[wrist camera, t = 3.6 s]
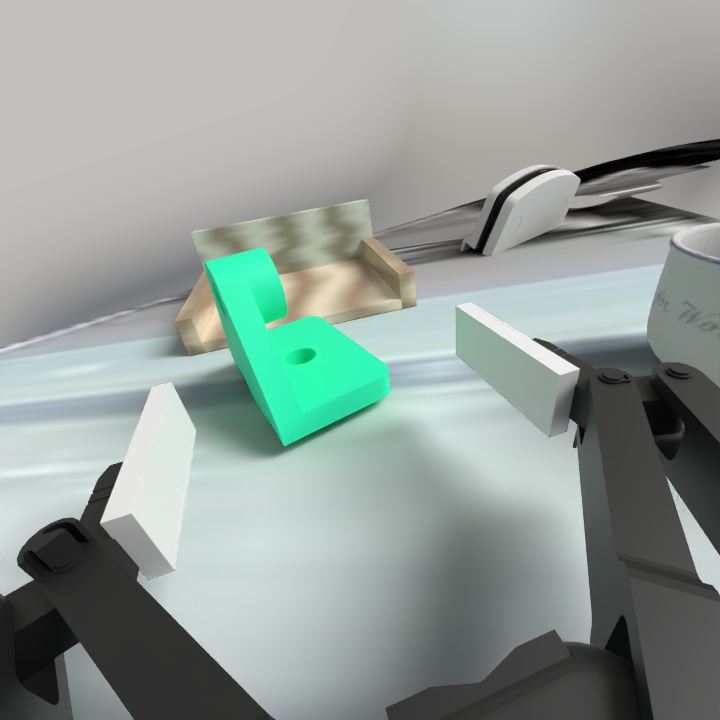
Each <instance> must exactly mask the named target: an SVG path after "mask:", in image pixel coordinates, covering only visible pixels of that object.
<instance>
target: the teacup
mask: <svg viewBox="0 0 720 720" xmlns="http://www.w3.org/2000/svg"><path fill="white" fill-rule="evenodd" d="M647 335H648V340H649V344H650V346H651V348H652V350H653V352H654V353H655V355H656V356H657V357H658V359H659V360H660V361H661V362H662V363H665V362H678V363H682V364H683V363H684V364H687V365H689V366H692V367H695V368H697V369H698V370H700V371H701V372H703V373H704V374H705V375H706V376H707V377H708V378H709V379H711V380H712V381H713V382H714V383H715V384H716V385H717V386H718V387H719V388H720V223H713V224H704V225H699V226H694V227H689V228H686V229H683V230H680V231H678V232H676V233H675V234H673V236H672V237H671V240H670V252H669V254H668V257H667V260H666V263H665V265H664V268H663V271H662V274H661V277H660V280H659V283H658V286H657V289H656V292H655V296H654V299H653V302H652V306H651V310H650V314H649V318H648V325H647Z"/></svg>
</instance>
